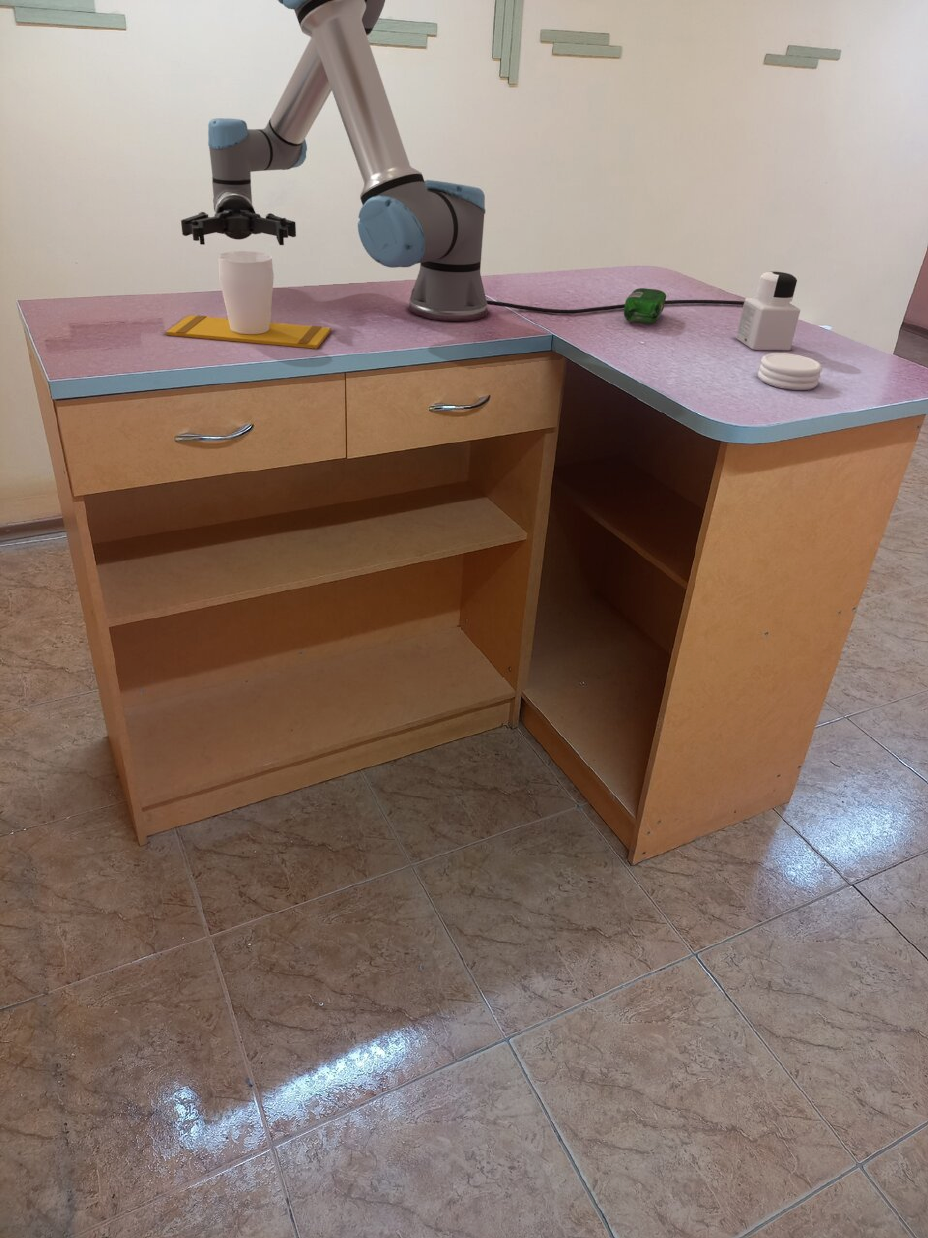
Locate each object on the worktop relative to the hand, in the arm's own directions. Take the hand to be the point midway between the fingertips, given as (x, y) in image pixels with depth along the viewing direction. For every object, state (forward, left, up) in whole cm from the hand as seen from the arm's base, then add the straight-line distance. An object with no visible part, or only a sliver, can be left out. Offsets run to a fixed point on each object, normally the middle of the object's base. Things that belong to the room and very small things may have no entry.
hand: (241, 236), depth 157 cm
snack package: (-74, -24, -14) cm, 79 cm away
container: (-96, -13, -14) cm, 98 cm away
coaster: (-96, +9, -14) cm, 98 cm away
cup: (-3, +9, -14) cm, 17 cm away
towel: (-3, +9, -14) cm, 17 cm away
